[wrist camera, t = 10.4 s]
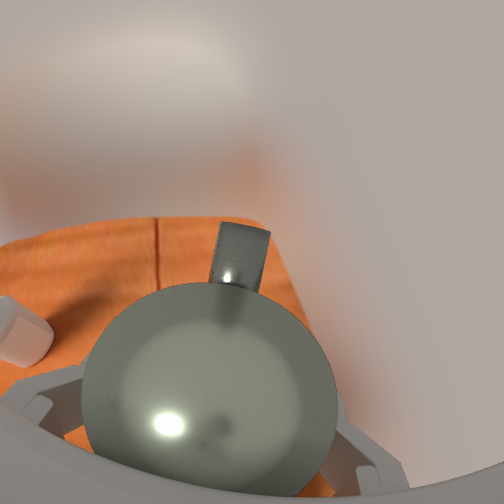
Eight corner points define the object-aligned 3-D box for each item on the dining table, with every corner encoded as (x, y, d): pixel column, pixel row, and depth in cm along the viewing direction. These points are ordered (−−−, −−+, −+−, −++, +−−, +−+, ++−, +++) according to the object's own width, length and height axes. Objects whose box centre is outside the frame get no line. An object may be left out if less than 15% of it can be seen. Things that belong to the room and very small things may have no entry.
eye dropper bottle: (60, 359, 23) (-17, 322, 12) (20, 370, 21) (-60, 338, 11) (53, 318, 25) (-17, 264, 14) (14, 330, 23) (-59, 284, 13)
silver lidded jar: (150, 440, 11) (52, 481, 3) (180, 311, 15) (144, 184, 7) (256, 463, 11) (323, 541, 3) (279, 331, 15) (357, 228, 7)
